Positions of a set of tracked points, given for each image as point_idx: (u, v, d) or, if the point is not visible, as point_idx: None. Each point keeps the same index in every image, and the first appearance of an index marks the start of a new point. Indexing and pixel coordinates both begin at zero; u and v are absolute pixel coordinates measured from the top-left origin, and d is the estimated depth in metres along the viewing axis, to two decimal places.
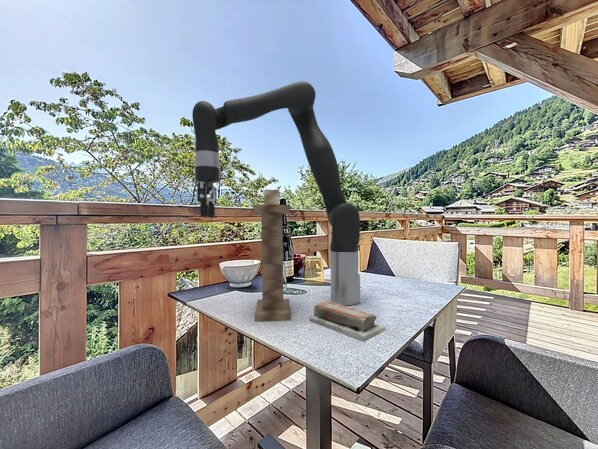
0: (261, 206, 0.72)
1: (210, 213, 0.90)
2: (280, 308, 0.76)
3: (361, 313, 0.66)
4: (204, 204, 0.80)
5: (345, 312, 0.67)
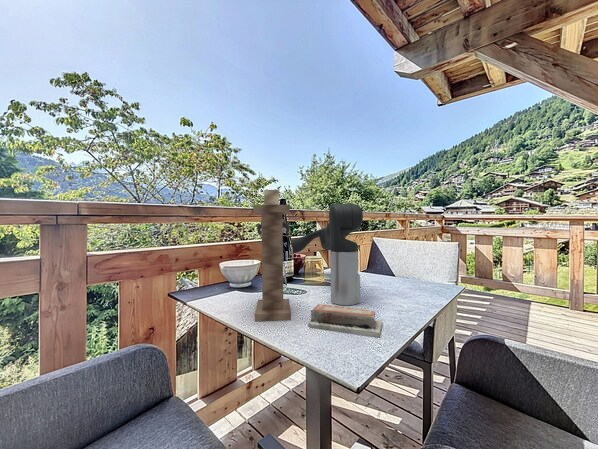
0: (261, 206, 0.72)
1: None
2: (280, 308, 0.76)
3: (364, 311, 0.68)
4: (285, 225, 1.17)
5: (350, 312, 0.67)
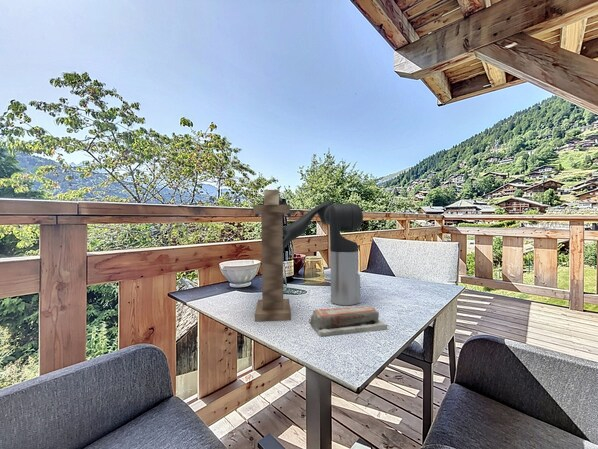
0: (261, 206, 0.72)
1: None
2: (280, 308, 0.76)
3: (362, 308, 0.70)
4: None
5: (355, 311, 0.67)
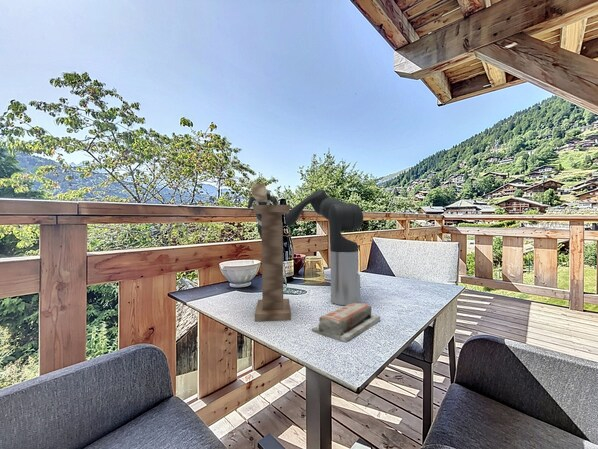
0: (261, 206, 0.72)
1: None
2: (280, 308, 0.76)
3: (355, 305, 0.73)
4: (270, 198, 1.08)
5: (357, 309, 0.69)
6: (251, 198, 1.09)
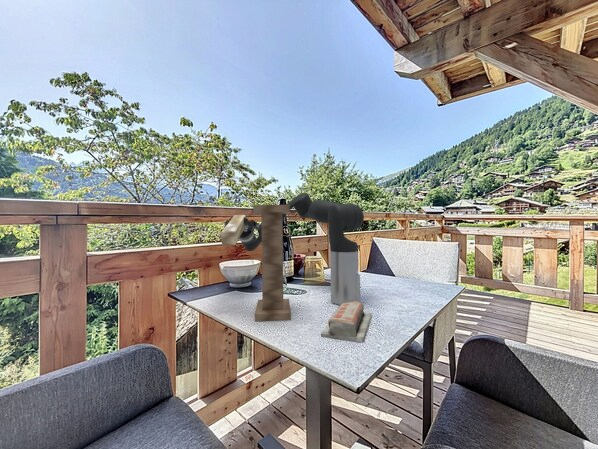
0: (261, 206, 0.72)
1: None
2: (280, 308, 0.76)
3: (349, 304, 0.73)
4: (248, 223, 0.99)
5: (357, 308, 0.70)
6: (227, 223, 0.99)
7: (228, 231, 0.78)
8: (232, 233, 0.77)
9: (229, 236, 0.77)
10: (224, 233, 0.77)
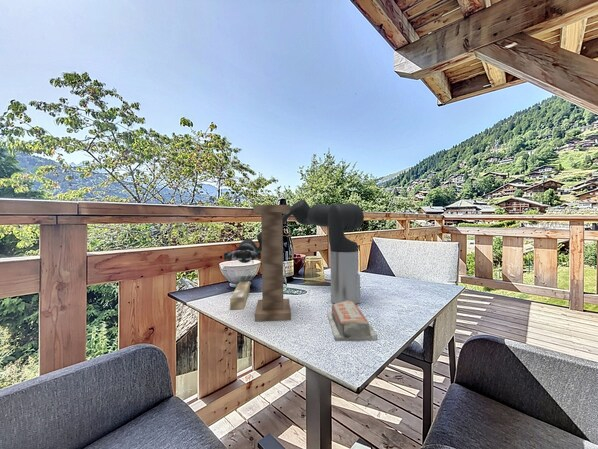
0: (261, 206, 0.72)
1: (230, 257, 0.98)
2: (280, 308, 0.76)
3: (344, 304, 0.74)
4: (256, 257, 1.01)
5: (355, 307, 0.71)
6: (224, 256, 1.01)
7: (237, 297, 0.83)
8: (240, 299, 0.83)
9: (237, 302, 0.83)
10: (233, 299, 0.83)
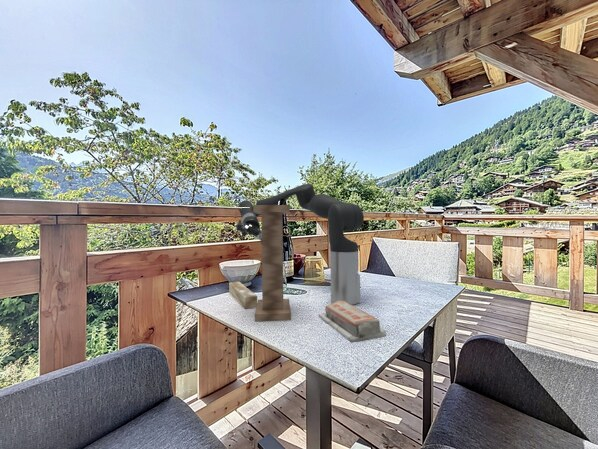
0: (261, 206, 0.72)
1: None
2: (280, 308, 0.76)
3: (338, 304, 0.73)
4: None
5: (352, 306, 0.71)
6: (238, 227, 1.08)
7: (250, 296, 0.85)
8: (254, 297, 0.84)
9: (252, 300, 0.84)
10: (247, 298, 0.83)
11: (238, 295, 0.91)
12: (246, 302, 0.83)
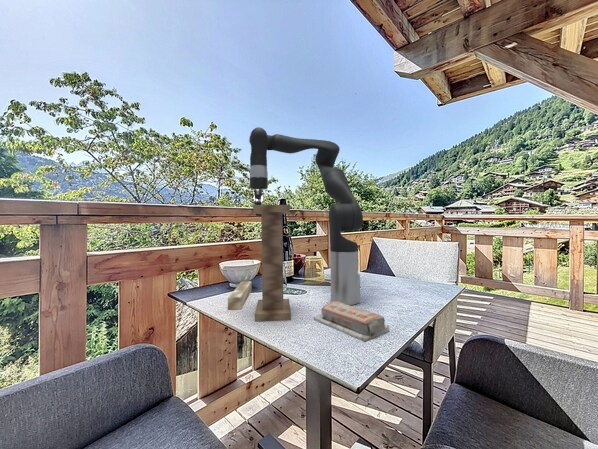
0: (261, 206, 0.72)
1: None
2: (280, 308, 0.76)
3: (335, 305, 0.73)
4: None
5: (349, 305, 0.72)
6: (258, 204, 1.04)
7: (234, 297, 0.83)
8: (238, 299, 0.83)
9: (235, 302, 0.83)
10: (230, 299, 0.83)
11: None
12: (229, 303, 0.83)
